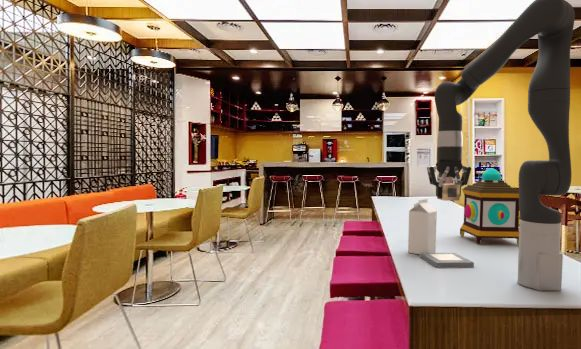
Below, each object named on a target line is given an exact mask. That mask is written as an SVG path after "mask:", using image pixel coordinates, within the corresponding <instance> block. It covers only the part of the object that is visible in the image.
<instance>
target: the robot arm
mask: <svg viewBox="0 0 581 349" xmlns="http://www.w3.org/2000/svg"><path fill="white" fill-rule="evenodd" d="M575 14H576V13H575V10H574V7H573V6H572V4H571V3H570V2H569V1H567V0H534V1H532V2H531V3H530V4H529V5H528V6H527V7H526V8H525V9H524V11H522V13H520V15H519V16H518V17H517V18H516V19H515V20H514V21H513V23H512V24H510V26H509V27H508V28H507V29H506V30H505V31H504V32H503V33H502V34H501V35H500V36H499V37H498V38H497V39H496V40H495V41H494V42H493V43H492V44H491V45H490V46H489V47H488V48H487V49H486V50H485V51H484V52H482V53H481V54H480V55H479V56H478V57H477V58H474V60H473V61H472V62H470V63H469V64H468V65H467V66H466V67H465V68H463V69H462V71H461V74H460V75H461V78H460V79H459V80H458V81H457V82H454V81H443V82H441V83H440V84H439V85H438V86H436V89H435V91H434V103H435V104H434V105H435V108H436V113H437V117H438V128H437V129H438V130H437V138H436V162H435V165H433V166H432V165H431V166H427V167H426V171H427V175H428V180H429V184H430V185H432V186H434V187H435V196H436V199H437V198H439V199H438V200H440V199H442V185H443V184H444V183H445V180H446V179H447V178H451V181H453V184H458V185H460V197H461V196H462V187H464V186H467V185H468V183H469V179H470V175H471V171H472V167H471V166H464V165H463V162H462V160H463V145H464V143H463V141H464V140H463V116H462V114H461V113H460V112H459V111H458V109H457V106H461V105H462V104H463V103H464V104H465V102H467V100H468V99H470V97H472V95H474V93H475V92H476V91H477V89H478V88H479V87H480V86H481V85H483V84H484V83H486V82H487V81H488V80H490V78H491V79H492V78H493V77H494V76H495V75H496V74H497V73H498V72H499V71H500V70H502V68H503V67H504V66H505V64H506V63H507V62H508V61H509V59H510V58H511V57H512V55H513V54H514V53H515V52H516V51H517V49H519V48H520V47H521V46H522V45H523V44H525V43H526V42H528V41H529V40H531V39H532V38H533V37H535V36H537V41H538V44H537V45H538V57H537V62H536V65H535V68H534V71H533V72H532V75H531V77H530V80H529V83H528V84H529V85H528V89H527V112H528V113H527V114H528V115H529V117H530V119H531V121H532V122H533V124H534V126H535V127H536V128H537V129H538V131H539V132H540V134H541V135H542V137H543V138H544V140H545V142H546V146H547V150H548V160H547V159H546V160H535V159H534V160H530V159H529V160H525V161H524V162H522V164H521V165H520V168H519V171H518V190H519V225H518V229H519V245H518V256H517V258H518V259H517V283H518V284H520V285H521V286H524V287H525V288H529V289H533V290H534V289H535V290H536V291H539V292H540V291H542V292H543V291H562V287H563V286H562V282H563V281H562V280H563V259H564V256H563V253H561V240H562V239H561V237H562V235H561V234H562V218H563V217H562V213H561V211H559V210H557V209H554V208H551V207H549V206H546V205H545V204H543V203H542V201H541V199H540V196H557V197H558V196H559V197H560V196H565V195H566V194H567V193H569V190H570V187H571V183H572V162H571V161H572V160H571V149H570V109H571V108H570V106H571V46H572V40H573V39H572V38H573V34H574V33H573V32H574V26H575V20H576V19H575V18H576V15H575ZM436 172H438V173H437V176H436ZM460 172H462V174H461V175H460Z"/></svg>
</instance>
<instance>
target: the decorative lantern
mask: <svg viewBox="0 0 581 349" xmlns="http://www.w3.org/2000/svg"><path fill="white" fill-rule="evenodd" d="M461 192H462V193H463V196H464V198H463V199H464V203H463V206H464V207H463V208H464V209H463V223H462V224H461V227H460V229H459V235H460V237H464V235H465V233H466V234H468V235H471V236H473V237H475V239H476V244H477V245H479V246H480V245H481V243H482V240H483V239H516V244H517V246H519V226H520V210H519V188H517V187H514V186H513V187H512V186H511V185H509V184H508V183H507V182H505V180H504V179H503V180H502V176H501V173H500V172H499V171H498V170H497V169H495V168H493V167H492V168H487V169H486V170H485V171H484V172H483V173H482V176H481V179H479V180H478V181H475V182H474V183H472V184H467V185H466V186H465V187H464V186H463V188H461Z"/></svg>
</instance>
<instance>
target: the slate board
mask: <svg viewBox="0 0 581 349" xmlns="http://www.w3.org/2000/svg"><path fill="white" fill-rule="evenodd" d="M419 256H420V258H421V259H422V260H424V261H426V262H427V263H428V264H430V265H432V266H433V267H434V268H475V262H473V261H472V260H470V259H468V258H466V257H464V256H462V255H460V254H458V253H456V252H435V253H421V255H419Z"/></svg>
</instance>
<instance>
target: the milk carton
mask: <svg viewBox="0 0 581 349" xmlns="http://www.w3.org/2000/svg"><path fill="white" fill-rule="evenodd" d="M437 217H438V216H437V210H436V208H434V207H433V206H432V205H431V204H430V202H428V199H427V198H425V199H420V200H418V201H417V202H416V203H414V204H413V207H412V208H411V209H410V210H408V236H407V237H408V241H407V242H408V244H407V245H408V246H407V253H409V254H416V255H419V256H420V255H421V253H437V251H436V250H437V248H436V247H437V245H436V244H437Z"/></svg>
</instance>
